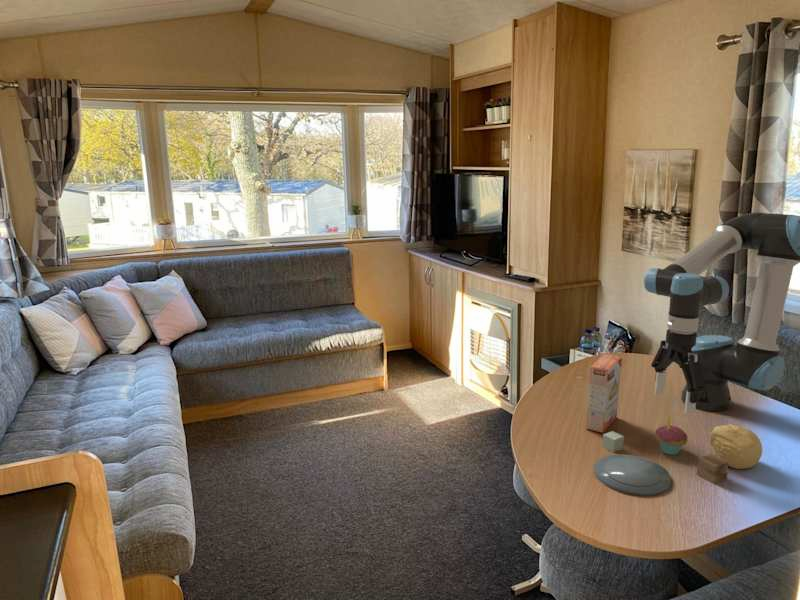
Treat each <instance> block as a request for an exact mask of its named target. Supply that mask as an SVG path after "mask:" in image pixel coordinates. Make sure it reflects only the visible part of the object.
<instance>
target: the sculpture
mask: <svg viewBox="0 0 800 600" xmlns="http://www.w3.org/2000/svg"><path fill="white" fill-rule="evenodd" d="M709 436H710V440H709V444H710V446H711V447H712V449H713V451H714V452H713V453H714V455H715V456H717V457H719V458H721V459H723V460H725V461H727V462H729V463H728V468H729V467H730V468H732V469H737V470H743V469H744V470H745V469H746V470H747V469H749V468H752V467H754V466H755V465H756V464H758V463H759V461H760V459H761V458H762V455H763V454H762V453H763V446H762V442H761V440H760V438H759V436H758V435H757V434H755V433H754V432H753V431H752V430H751V429H749V428H747V427H743V426H740V425H735V424H733V423H729V424H727V425H725V424H724V425H716V426H715V427H714V428H713V429H712V431H711V432H710V435H709Z"/></svg>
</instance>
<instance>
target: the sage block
mask: <svg viewBox="0 0 800 600" xmlns="http://www.w3.org/2000/svg"><path fill="white" fill-rule="evenodd" d="M624 438H625V436H624V435H622V434H620V433H618V432H616V431H609V432H606V433H602V445H601V446H602V448H604V449H606V450H608V451H610V452H612V453H615V452H618V451H621V450H623V449H624Z"/></svg>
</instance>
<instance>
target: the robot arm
mask: <svg viewBox="0 0 800 600" xmlns="http://www.w3.org/2000/svg"><path fill="white" fill-rule="evenodd" d="M745 249H746V250H753V251H757V253H756V257H757V259H758V261H760V266H759V271H758V274H757V279H756V283H755V287H754V292H753V297H752V301H751V305H750V309H749V315H748V317H747V318H748V319H747V322H746V328H745V331H744V335H743V337H742V338H740V339H738V340H736V341H737V342H736V344H734V339H733V338H732V337H730V336H727V335H722V334H720V335H719V334H718V335H717V334H707V335H700V336H698V333H697V331H699V320H700V310H701V307H704V306H710V305H716V304H718V303H721V302H722V301H724V300H726V298H727V297H728V296H729V293H730V286H729V283H728V282H727V280H726V279H725V278H723V277H721V276H718V275H716V276H715V275H710V276H702V274H703V273H704V272H705V271H707V270H709V268H711V267H712V266H713V265H715V264H716V263H718V262H720V260H721V259H724V258H725V257H726V256H727V255H728V254H735V253H737V252H738V251H740V250H745ZM798 264H800V215H795V214H784V213H783V214H781V213H767V212H757V211H756V212H750V213H748V212H747V213H744V214H741V215H738V216H736V217H734V218H731V219H729V220H727V221H724V222H723V223H721V224H720V225H718V226H717V227H716V228H715V229H714V230H713V231H712V234H711V235H710V236H709V237H707V238H706V239H704V240H703V241H701V242H700V243H698V244H697V245H695V246H694V247H693V248H691V249H690V250H689V251H687V252H686V253H685V254H683V255H682V256H680V257H678V258H677V259H676V260H675V261H672V262H671V263H670V264H669V265H667V266H666V267H664V268H659V267H658V268H657V267H656V268H655V267H654V268H650V269H649V270H648V271H646V273H645V275H644V277H643V287H644V289H645V291H647V292H649V293H650V294H655V295H657V296H664V297H667V298H669V308H668V318H667V330H666V333H665V334H666V335H665V340H660V346H659V348H658V350H657V352H656V354H655V355H654V358H653V360H652V362H651V367H652V368H653V369H654V371H655V383H654V384H655V385H654V394H655V395H663V394H665V391H666V390H665V388H666V383H667V368H668V367H670V365H671V364H672V363H675V364H676V365H678V367H679V368H680V369H681V370H682V373H683V376H684V379H685V382H686V383H685V386H684V388H683V389H682V391H681V398H680V399H681V402H683V403H684V411H683V413H684V414H686V415H689V414H695V413H696V409H698V410H703V411H708V412H723V411H727V410H729V409H731V407H732V397H731V393H730V392H731V391H730V388H729V383H728V382H729V381H730V382H733V383H736V384H739V385H742V386H746V387H749V388H750V389H755V390H758V391H759V390H760V391H768V390H770V389H772V388H774V386H776V385H777V384H778V382H779V381H780V379H781V378H782V376H783V373H784V372H785V367H786V364H785V362H786V361H785V358H783V357H782V355H780V352H781V351H780V350H781V349H780V347H779V346H778V345H777V343H776V342H777V338H778V335H779V330H780V325H781V321H782V318H783V317H782V316H783V313H784V310H785V304H786V300H787V296H788V291H789V287H790V283H791V279H792V274H793V270H794V267H796V265H798Z"/></svg>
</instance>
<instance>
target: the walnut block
mask: <svg viewBox="0 0 800 600" xmlns="http://www.w3.org/2000/svg"><path fill="white" fill-rule="evenodd" d="M697 461H698V462H697V469H696V476H698V477H700V478H702V479H704V480H705V481H707V482H709V483H711V484H717V483H720V482H722V481H725V480H727V476H728V470H729V466H728V463H729V462H727V461H725V460H723V459H721V458H719V457H717V456H716V455H715V454H713V453H710V454H707V455H703V456H700V457H698V459H697Z"/></svg>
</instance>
